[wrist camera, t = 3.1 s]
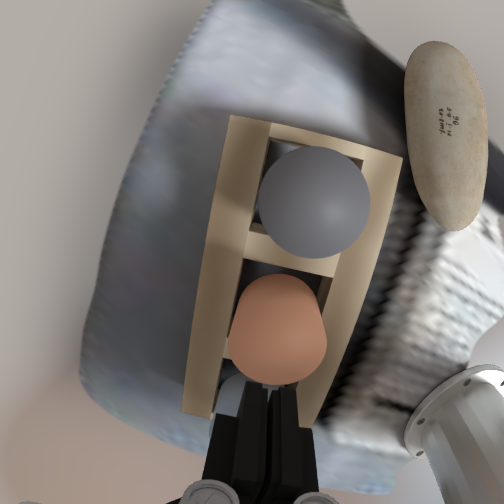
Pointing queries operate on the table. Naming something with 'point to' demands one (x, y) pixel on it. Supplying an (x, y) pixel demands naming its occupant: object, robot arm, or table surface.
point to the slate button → (234, 395)
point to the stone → (446, 133)
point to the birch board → (278, 260)
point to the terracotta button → (277, 331)
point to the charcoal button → (314, 202)
